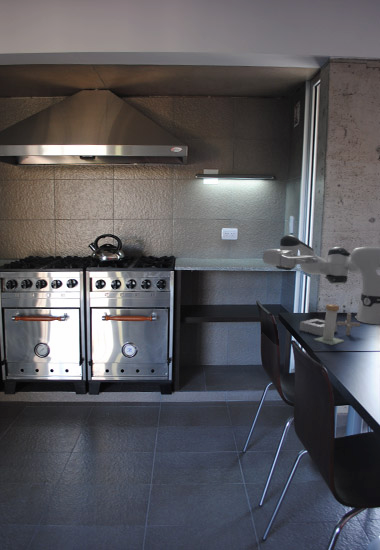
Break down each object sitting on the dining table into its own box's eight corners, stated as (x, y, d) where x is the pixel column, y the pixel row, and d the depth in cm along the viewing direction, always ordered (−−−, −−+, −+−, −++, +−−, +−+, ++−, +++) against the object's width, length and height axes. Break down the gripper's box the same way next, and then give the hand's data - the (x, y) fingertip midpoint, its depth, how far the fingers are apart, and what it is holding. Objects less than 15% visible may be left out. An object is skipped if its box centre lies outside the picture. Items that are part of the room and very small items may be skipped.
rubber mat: (326, 336, 202) (326, 335, 202) (343, 341, 195) (344, 340, 195) (313, 340, 196) (314, 338, 196) (331, 345, 189) (331, 343, 189)
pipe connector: (361, 338, 200) (362, 316, 199) (337, 336, 202) (339, 315, 201) (357, 332, 210) (358, 311, 209) (335, 331, 212) (336, 310, 211)
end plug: (326, 336, 200) (331, 303, 197) (336, 340, 195) (341, 306, 193) (318, 337, 197) (323, 304, 194) (328, 341, 192) (333, 307, 190)
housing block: (315, 326, 220) (315, 318, 220) (336, 331, 211) (337, 323, 210) (299, 330, 213) (300, 321, 212) (320, 335, 204) (321, 327, 203)
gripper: (301, 263, 235) (323, 266, 224) (275, 266, 222) (297, 269, 211) (302, 251, 234) (324, 254, 223) (275, 253, 221) (298, 256, 210)
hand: (311, 261), depth 217 cm, fingers open, 8 cm apart
